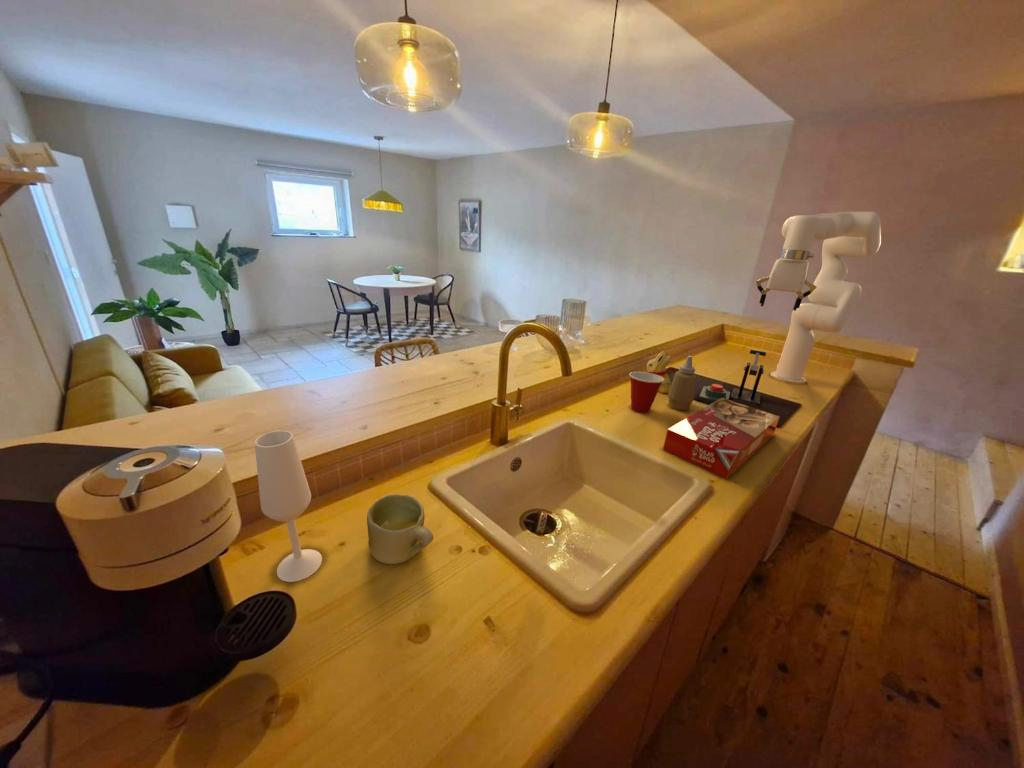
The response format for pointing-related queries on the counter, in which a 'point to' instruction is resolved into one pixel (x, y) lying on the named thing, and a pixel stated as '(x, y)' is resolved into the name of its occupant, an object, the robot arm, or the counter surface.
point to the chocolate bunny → (660, 370)
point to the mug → (397, 529)
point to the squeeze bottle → (683, 386)
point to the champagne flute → (285, 497)
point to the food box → (721, 436)
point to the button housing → (713, 394)
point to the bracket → (747, 395)
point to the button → (716, 387)
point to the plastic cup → (644, 390)
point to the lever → (755, 361)
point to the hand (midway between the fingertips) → (777, 307)
